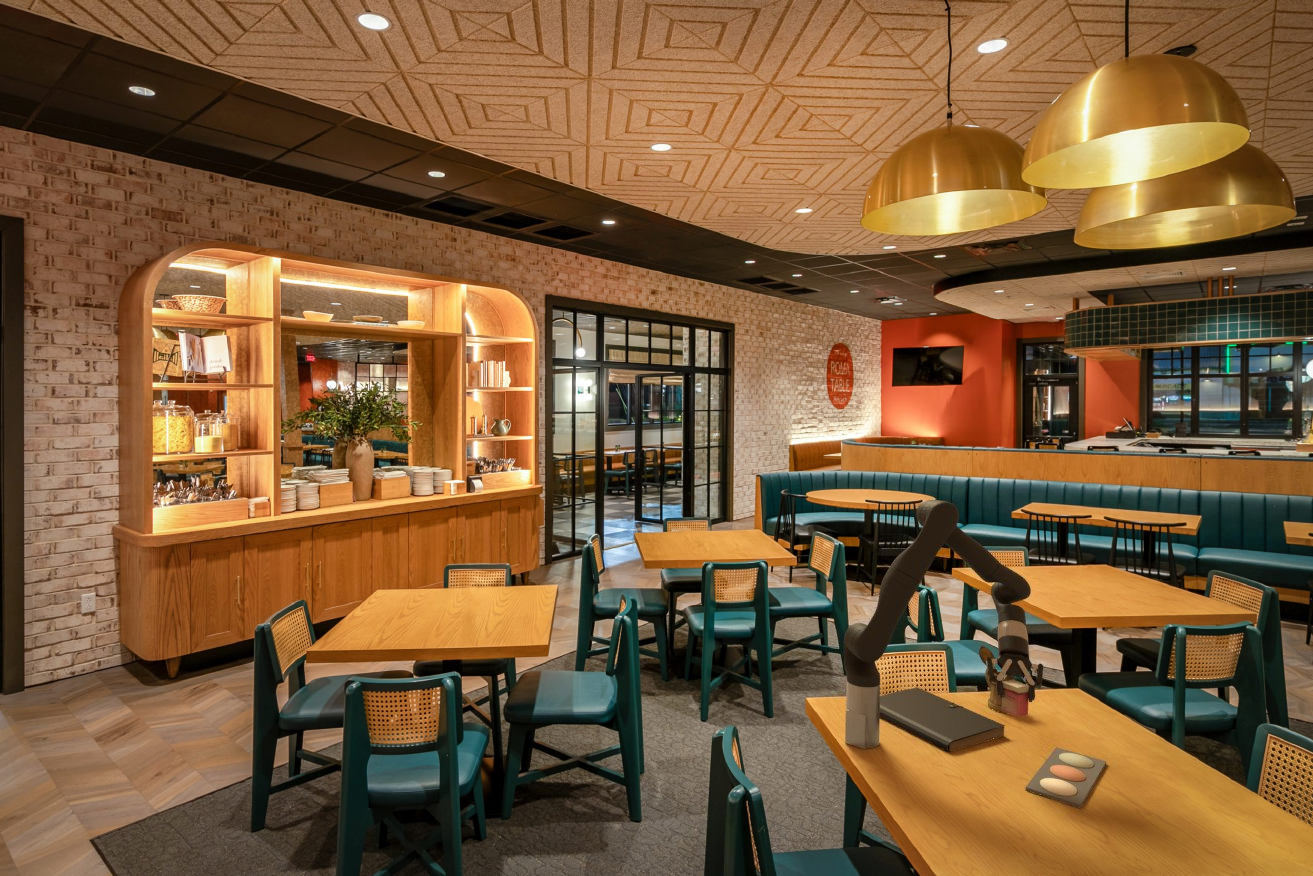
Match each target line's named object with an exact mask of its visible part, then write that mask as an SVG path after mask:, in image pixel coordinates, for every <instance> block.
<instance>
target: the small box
mask: <svg viewBox="0 0 1313 876" xmlns="http://www.w3.org/2000/svg"><path fill="white" fill-rule="evenodd" d="M1001 710H1002V711H1005V712H1007V713H1009V715H1012V716H1014V717H1015V718H1018V717H1025V716H1028V715H1029V686H1028V685H1027V684H1026V683H1023V682H1021V681H1018V680H1016V679H1015V680H1008V681H1003V698H1002V708H1001ZM1007 713H1006V714H1007Z"/></svg>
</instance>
